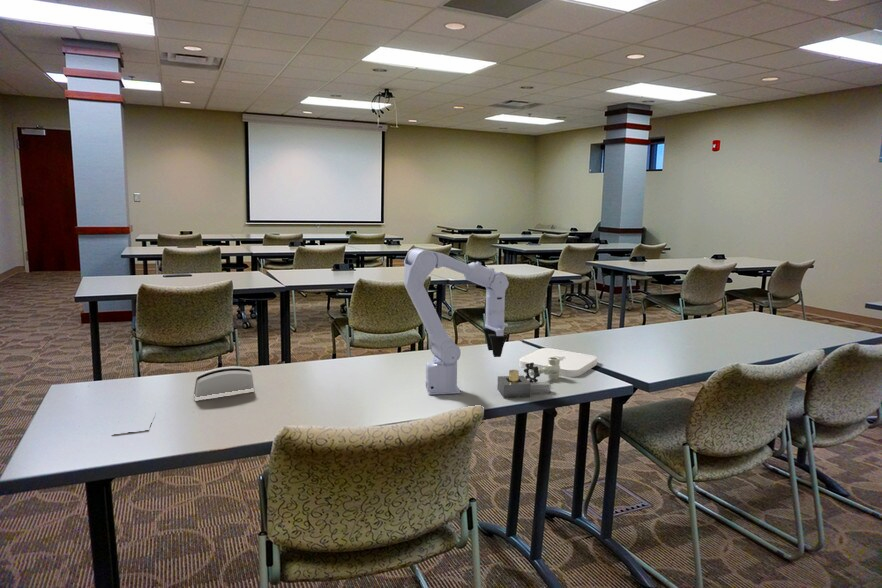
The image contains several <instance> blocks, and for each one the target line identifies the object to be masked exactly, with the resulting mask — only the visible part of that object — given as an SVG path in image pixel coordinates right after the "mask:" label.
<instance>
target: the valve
mask: <svg viewBox="0 0 882 588" xmlns="http://www.w3.org/2000/svg"><path fill="white" fill-rule="evenodd" d="M548 363H549V364H548V365H544V366H543V367H542V368H539V369H538V367H533V365H534V363H530V364H529V363H528V364H526V367H527V369H525V368H523V373H525V374H526V375H525V376H524V377H525V378H526V379H527V380H528V381H529V383H534V382H539V379H537V378H538V377H539V378H540V376H541V374H542V375H543V374H544V375H547V378H548V379H550V380H558V378H559V379H560V375H559V372H560V365H559V364H560V359H559V358H557V357H550V358H548ZM529 365H530V366H529ZM531 376H533V377H531Z"/></svg>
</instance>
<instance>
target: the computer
mask: <svg viewBox="0 0 882 588" xmlns="http://www.w3.org/2000/svg"><path fill="white" fill-rule="evenodd" d="M550 357H557V358H559V359H560V364H559V365H560V372H559V376H561V375H562V376H563V377H566V378H567V377H568V378H576V377H579V376H581V375H583V374H584V373H586V372H588V371H589V370H591V369H592V368H594V367H595V366H597V364H598V362H597V361H598V357H597V356H595V355H592V354H587V353H579V352H575V351H568V350H563V349H562V350H561V349H556V348H549V347H542V348H539V349H537V350H535V351H532V352H531V353H528V354H527V355H524V356H522V357H519V359H518V360H519V361H518V366H519V367H520V368H522V369H527V367H526V364H528V363H529V364H530V363H534V365H533V367H538V369H539V368H542V367H543V366H544V365H548V364H549V363H548V358H550ZM529 366H530V365H529Z"/></svg>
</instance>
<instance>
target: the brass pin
mask: <svg viewBox="0 0 882 588" xmlns="http://www.w3.org/2000/svg"><path fill="white" fill-rule="evenodd" d="M519 371H520V370H518V369H509V370H508V376H509V383H510V382H518V377H519V376H520V375H519V374H520V372H519Z"/></svg>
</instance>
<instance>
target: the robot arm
mask: <svg viewBox="0 0 882 588" xmlns="http://www.w3.org/2000/svg"><path fill="white" fill-rule="evenodd" d="M403 265H404V274H403V275H404V276H403V285H404V288H405V289H406V291H407V294H408V296H409V298H410V299H411V302H412V304H413V306H414V309H415V310H416V312H417V314H418V316H419V318H420V320H421V323H422V324H423V326H424V328H425V330H426V332H427V334H428V341H429V344H430V352H431V354H432V355H433V359H432V360H433V361H428V362H426V363H425V388H426V391H427V394H428V395H429V396H430V395H451V394H452V395H454V394H461V391H460V389H459V387H458V361H459V359H460V357H461V348H460V347H459V345H458V344H456V343H455V342H454V340H453V339H452V337H451V336H450V335H449V334H448V332H447V331H446V329H445V327H444V325H443V322H442V320H441V318H440V317H439V315H438V312H437V310H436V308H435V306H434V305H433V302H432V299H431V297H430V296H429V294H428V292H427V289H426V288H425V285H424V284H425V282H426V280H427V278H428V276H429V275H430V274H431V273H432V272H433V271H434V269H440V268H443V267H444V268H445V269H449V270H452V271H454V272H458V273H460V274H462V275H463V276H464V279H465V280H466V281H469V282H470V283H474V284H477V285H478V286H481V287H485V289H486V290H485V291H486V292H485V324H484V327H482V331H483V334H484V336H485V341H486V346H487V351H492V355H493V358H500V357H502V354H503V349H504V345H505V343H506V341H507V340H508V338H509V336H508V334H504V331H505V328H508V327H509V324H508V323H505V308H506V307H505V305H506V304H505V303H506V302H505V300H506V290H507V289H508V287H509V283H510V282H509V280H508V277H507V275H506V274H505V273H502V272H499V271H495V268H493V267H486V266H484V265H482V262H479V261H476V262H474V261H472V262H470V263H465V262H463V261H461V260H459V259H456V258H454V257H452V256H449V255H447V254H446V253H445V254H444V253H442V252H436V251H433V250H428V249H423V248H420V247H412V248H411V249H410V250H409V251H408V252H407V254H406V256H405V258H404V261H403Z"/></svg>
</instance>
